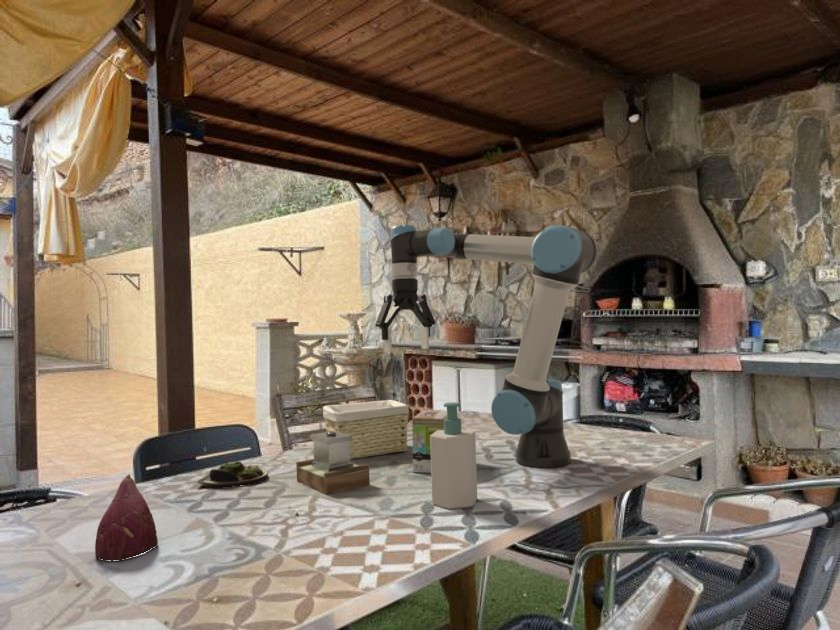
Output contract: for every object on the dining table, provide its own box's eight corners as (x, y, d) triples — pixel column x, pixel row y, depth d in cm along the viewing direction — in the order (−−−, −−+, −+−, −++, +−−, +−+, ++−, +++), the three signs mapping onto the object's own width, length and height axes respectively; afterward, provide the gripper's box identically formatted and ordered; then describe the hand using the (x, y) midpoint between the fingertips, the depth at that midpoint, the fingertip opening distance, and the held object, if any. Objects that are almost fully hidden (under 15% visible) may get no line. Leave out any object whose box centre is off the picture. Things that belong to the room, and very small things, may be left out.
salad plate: (197, 474, 167) (197, 457, 167) (263, 467, 173) (263, 451, 173) (196, 493, 149) (195, 474, 149) (270, 484, 154) (269, 466, 154)
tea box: (449, 474, 158) (447, 417, 158) (412, 473, 160) (410, 417, 160) (457, 460, 172) (455, 408, 172) (423, 459, 174) (421, 408, 174)
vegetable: (111, 559, 115) (107, 480, 119) (166, 549, 116) (160, 470, 120) (84, 568, 105) (80, 481, 109) (144, 556, 106) (138, 470, 109)
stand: (369, 484, 149) (369, 464, 149) (326, 494, 142) (326, 473, 142) (337, 472, 162) (337, 454, 162) (296, 481, 155) (296, 462, 155)
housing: (335, 461, 158) (334, 428, 158) (353, 468, 151) (352, 433, 151) (311, 466, 154) (310, 432, 154) (328, 473, 146) (327, 437, 146)
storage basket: (336, 462, 174) (334, 411, 174) (322, 451, 189) (321, 405, 189) (412, 452, 184) (410, 404, 184) (393, 443, 199) (392, 398, 199)
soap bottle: (471, 494, 139) (468, 399, 139) (483, 506, 130) (480, 404, 130) (427, 498, 137) (424, 402, 137) (437, 511, 128) (434, 407, 128)
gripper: (376, 276, 166) (378, 353, 166) (445, 277, 182) (447, 347, 182) (362, 278, 172) (364, 352, 172) (430, 279, 188) (432, 347, 188)
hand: (407, 350), depth 177 cm, fingers open, 13 cm apart
